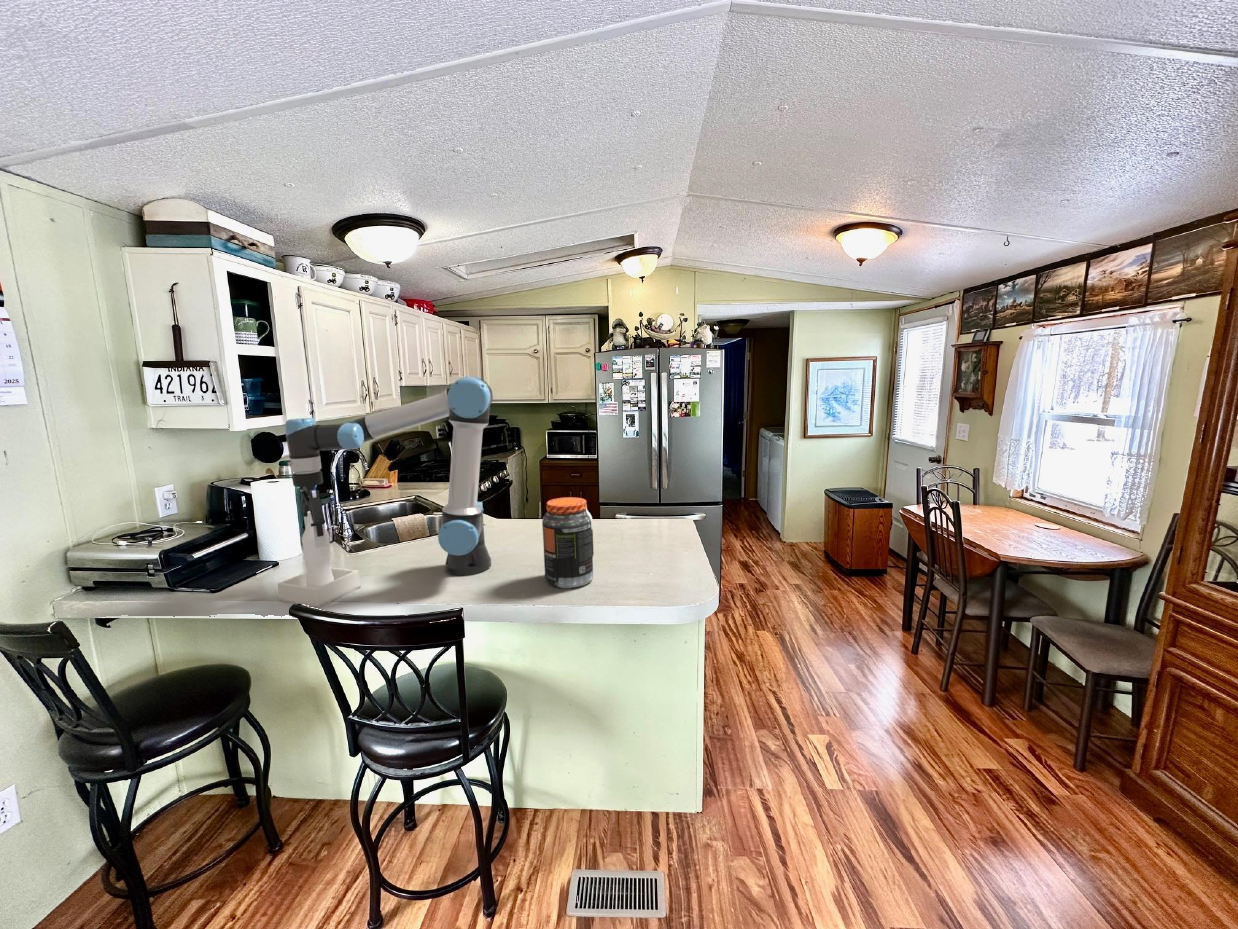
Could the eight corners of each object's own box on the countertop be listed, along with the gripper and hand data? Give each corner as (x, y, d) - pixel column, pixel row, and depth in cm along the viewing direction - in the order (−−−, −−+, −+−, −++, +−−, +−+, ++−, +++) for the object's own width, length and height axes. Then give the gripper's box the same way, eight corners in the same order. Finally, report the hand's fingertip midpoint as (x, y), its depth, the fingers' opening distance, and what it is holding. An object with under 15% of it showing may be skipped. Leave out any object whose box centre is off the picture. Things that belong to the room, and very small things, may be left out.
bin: (360, 587, 157) (358, 570, 156) (318, 608, 143) (315, 589, 142) (324, 582, 161) (322, 565, 160) (279, 601, 147) (277, 583, 146)
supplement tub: (601, 574, 165) (599, 497, 160) (582, 592, 150) (580, 509, 146) (558, 568, 170) (555, 494, 166) (535, 586, 155) (532, 505, 151)
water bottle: (301, 593, 150) (293, 513, 146) (324, 585, 156) (317, 507, 152) (317, 598, 147) (309, 515, 143) (340, 589, 153) (332, 510, 149)
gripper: (284, 468, 153) (294, 535, 156) (299, 478, 134) (310, 554, 138) (313, 465, 158) (321, 530, 161) (330, 474, 139) (340, 547, 142)
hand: (316, 541), depth 149 cm, fingers open, 13 cm apart
